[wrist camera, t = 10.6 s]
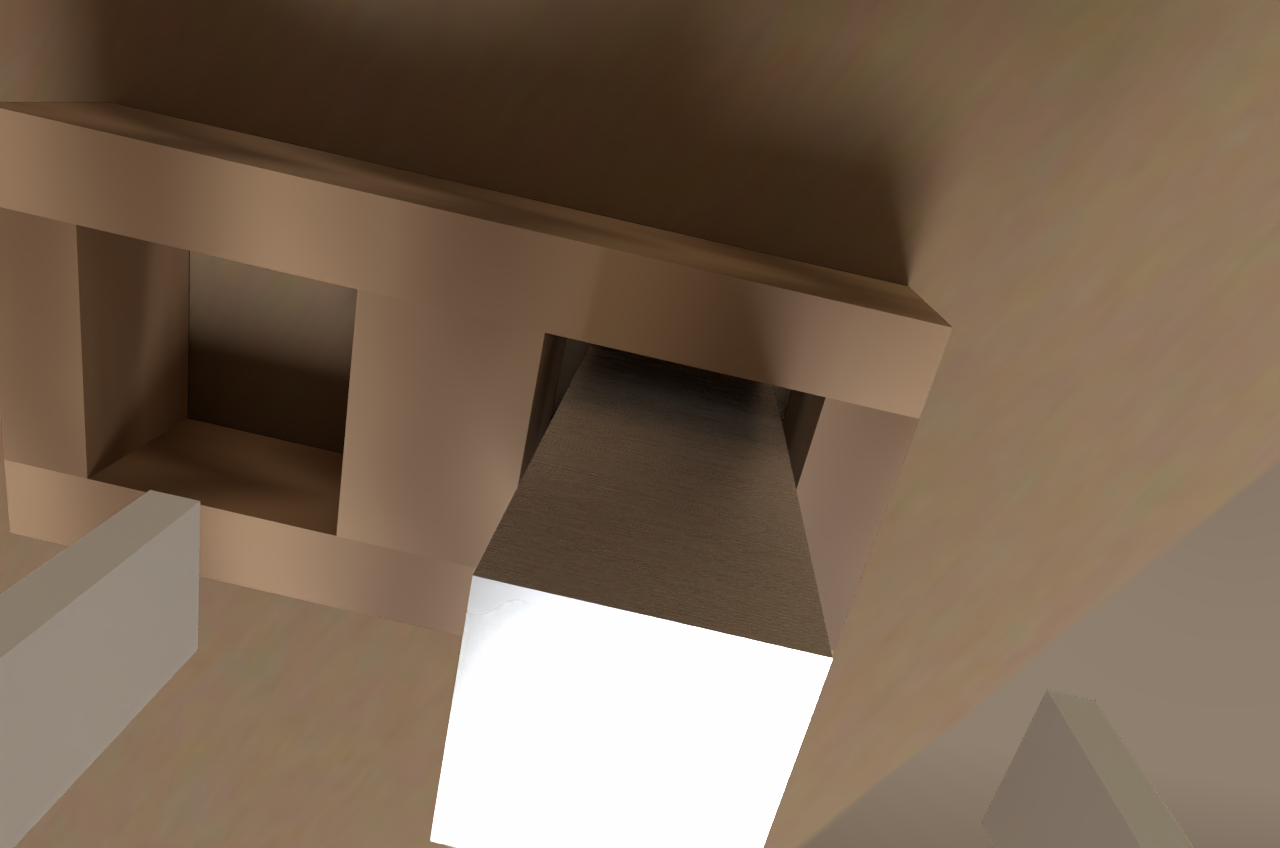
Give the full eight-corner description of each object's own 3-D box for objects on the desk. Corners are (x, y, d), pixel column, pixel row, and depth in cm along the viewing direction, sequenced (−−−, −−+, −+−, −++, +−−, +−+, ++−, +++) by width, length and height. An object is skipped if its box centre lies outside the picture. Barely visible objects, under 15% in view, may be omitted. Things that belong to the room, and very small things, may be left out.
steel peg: (568, 481, 23) (430, 840, 12) (599, 327, 21) (472, 575, 10) (726, 517, 23) (738, 912, 12) (769, 366, 21) (833, 658, 10)
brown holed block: (119, 465, 24) (10, 532, 20) (109, 102, 20) (-27, 102, 16) (794, 620, 24) (810, 716, 20) (908, 286, 20) (952, 327, 16)
